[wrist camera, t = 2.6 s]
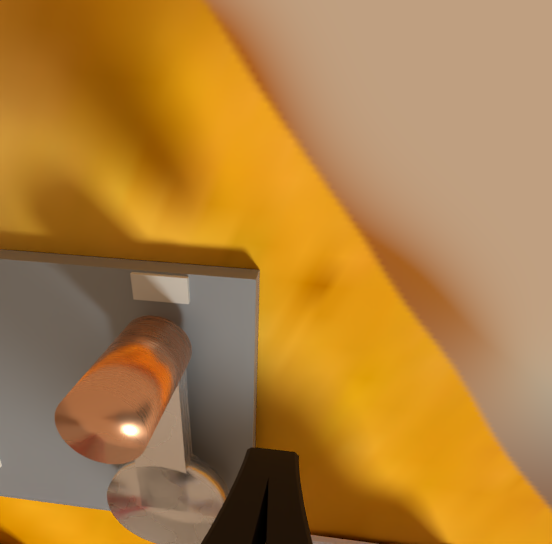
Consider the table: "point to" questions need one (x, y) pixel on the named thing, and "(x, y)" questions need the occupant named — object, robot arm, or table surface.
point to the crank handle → (145, 434)
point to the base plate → (92, 344)
